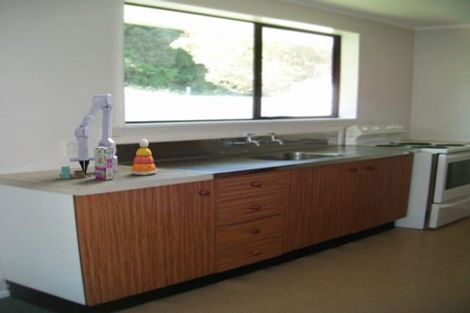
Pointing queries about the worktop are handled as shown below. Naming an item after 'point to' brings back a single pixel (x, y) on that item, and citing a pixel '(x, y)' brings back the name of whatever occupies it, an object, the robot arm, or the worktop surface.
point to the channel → (79, 174)
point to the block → (65, 171)
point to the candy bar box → (104, 163)
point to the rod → (72, 175)
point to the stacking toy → (143, 160)
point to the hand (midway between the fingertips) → (84, 174)
